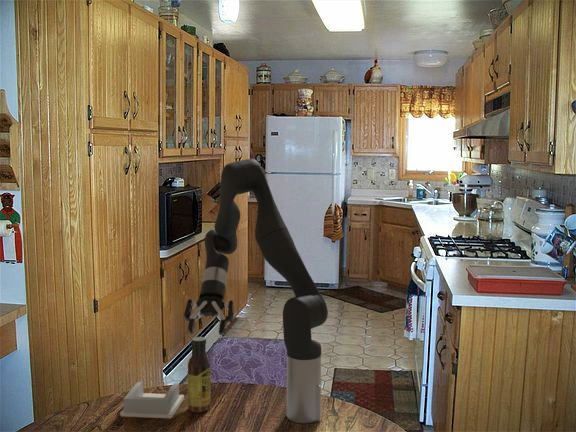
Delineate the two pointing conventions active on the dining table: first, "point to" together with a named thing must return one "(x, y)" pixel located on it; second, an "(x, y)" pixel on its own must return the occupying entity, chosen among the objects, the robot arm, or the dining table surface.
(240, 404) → the dining table surface
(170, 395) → the white open tray
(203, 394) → the sauce bottle
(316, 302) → the robot arm
